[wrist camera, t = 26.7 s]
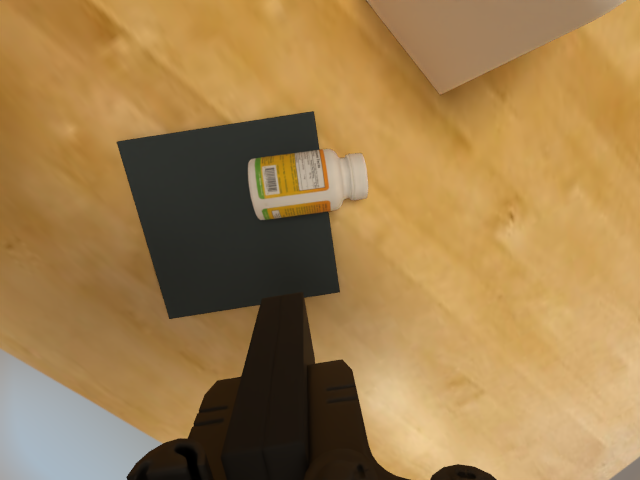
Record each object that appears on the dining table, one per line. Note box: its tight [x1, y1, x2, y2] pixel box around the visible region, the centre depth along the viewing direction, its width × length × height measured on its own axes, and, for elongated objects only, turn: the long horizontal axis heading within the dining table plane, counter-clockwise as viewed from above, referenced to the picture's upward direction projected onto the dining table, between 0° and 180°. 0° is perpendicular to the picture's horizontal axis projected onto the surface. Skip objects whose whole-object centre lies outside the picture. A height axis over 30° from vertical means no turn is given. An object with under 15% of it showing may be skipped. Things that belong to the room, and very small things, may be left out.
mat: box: [117, 112, 340, 319], centre depth 34 cm, size 18×18×1 cm
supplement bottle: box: [248, 149, 368, 220], centre depth 30 cm, size 5×5×10 cm
